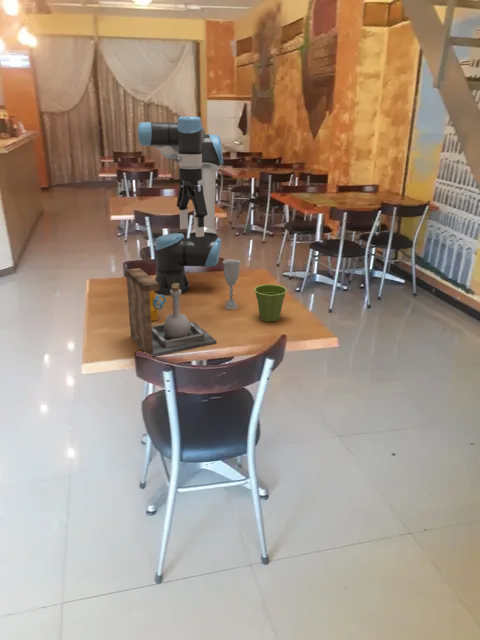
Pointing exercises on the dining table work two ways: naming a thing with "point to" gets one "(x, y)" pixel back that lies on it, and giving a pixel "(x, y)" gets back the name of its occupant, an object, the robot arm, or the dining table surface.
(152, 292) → the orange ring-handled vase
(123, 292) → the dining table surface
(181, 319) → the potion bottle
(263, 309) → the plant pot
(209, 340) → the ledge nook
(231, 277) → the chalice
